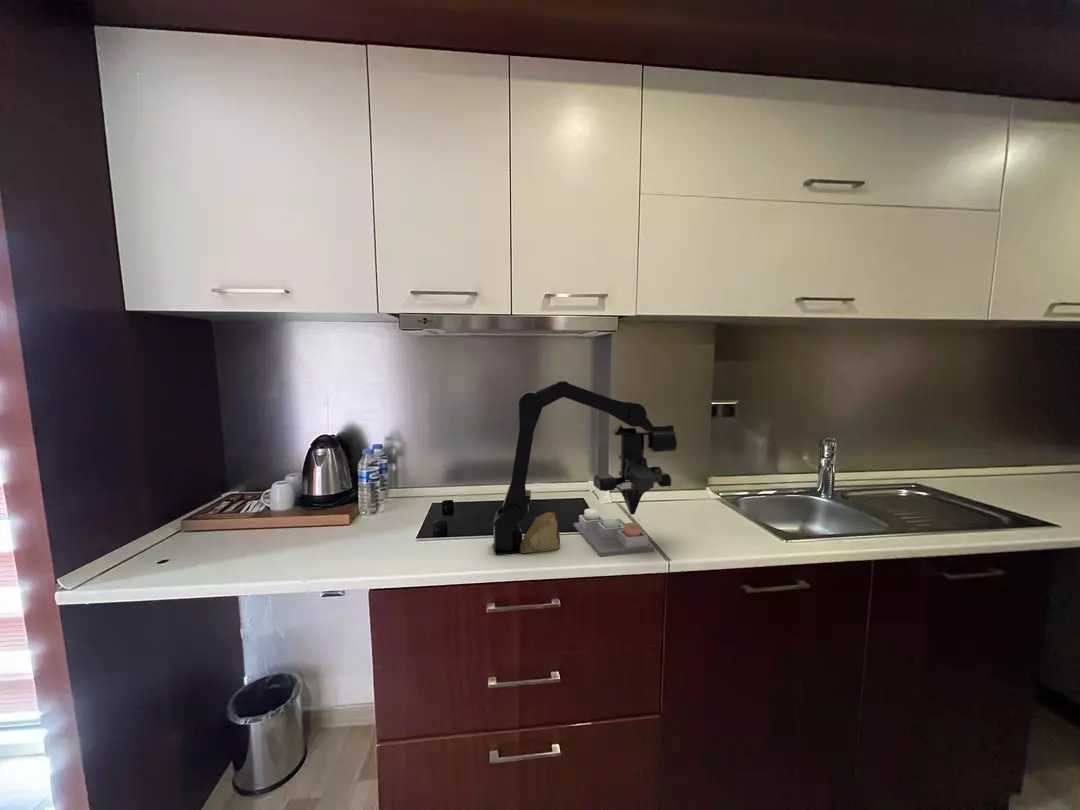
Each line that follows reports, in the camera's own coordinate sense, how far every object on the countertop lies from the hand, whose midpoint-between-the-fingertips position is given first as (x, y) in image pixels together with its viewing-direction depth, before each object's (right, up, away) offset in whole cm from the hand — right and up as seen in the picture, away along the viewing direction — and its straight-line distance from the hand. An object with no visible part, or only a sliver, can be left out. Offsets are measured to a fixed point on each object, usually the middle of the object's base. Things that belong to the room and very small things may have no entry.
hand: (632, 514), depth 114 cm
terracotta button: (0, -6, 0) cm, 6 cm away
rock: (-23, -9, 0) cm, 25 cm away
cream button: (-9, -5, +13) cm, 16 cm away
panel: (-4, -8, +7) cm, 11 cm away
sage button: (-4, -6, +7) cm, 10 cm away
